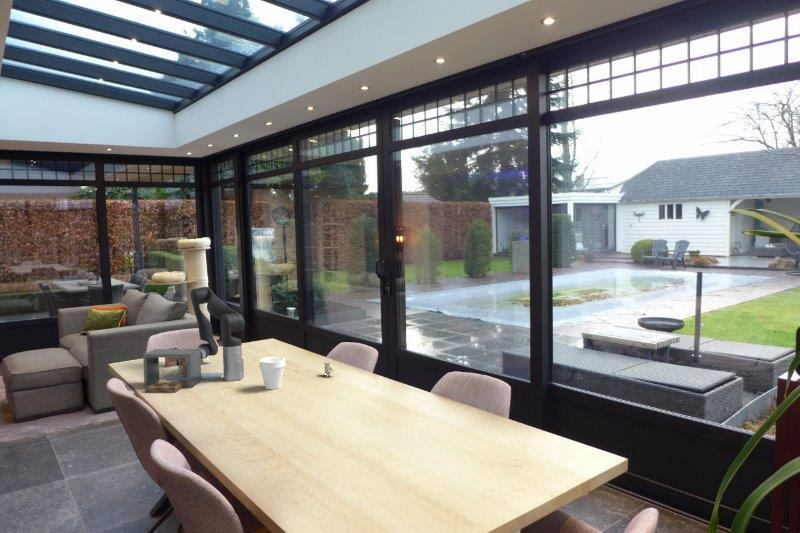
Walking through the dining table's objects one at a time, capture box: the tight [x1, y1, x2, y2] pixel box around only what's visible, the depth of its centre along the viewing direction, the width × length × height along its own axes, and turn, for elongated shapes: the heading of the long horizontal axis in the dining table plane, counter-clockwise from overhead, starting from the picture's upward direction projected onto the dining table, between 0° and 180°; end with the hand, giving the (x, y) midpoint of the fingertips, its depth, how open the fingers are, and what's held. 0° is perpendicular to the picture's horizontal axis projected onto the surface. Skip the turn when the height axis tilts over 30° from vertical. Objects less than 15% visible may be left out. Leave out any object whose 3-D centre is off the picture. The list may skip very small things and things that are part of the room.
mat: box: [165, 372, 224, 381], centre depth 291 cm, size 26×12×1 cm, turn 87°
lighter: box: [164, 347, 178, 368], centre depth 316 cm, size 8×3×10 cm, turn 143°
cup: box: [258, 356, 286, 390], centre depth 268 cm, size 12×12×14 cm
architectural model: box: [323, 361, 336, 376], centre depth 289 cm, size 3×7×7 cm, turn 27°
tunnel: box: [142, 348, 202, 389], centre depth 276 cm, size 23×12×16 cm, turn 87°
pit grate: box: [145, 382, 183, 394], centre depth 266 cm, size 14×7×2 cm, turn 87°
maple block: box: [178, 357, 188, 375], centre depth 289 cm, size 4×4×11 cm
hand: (182, 363), depth 287 cm, fingers closed on maple block, 4 cm apart
